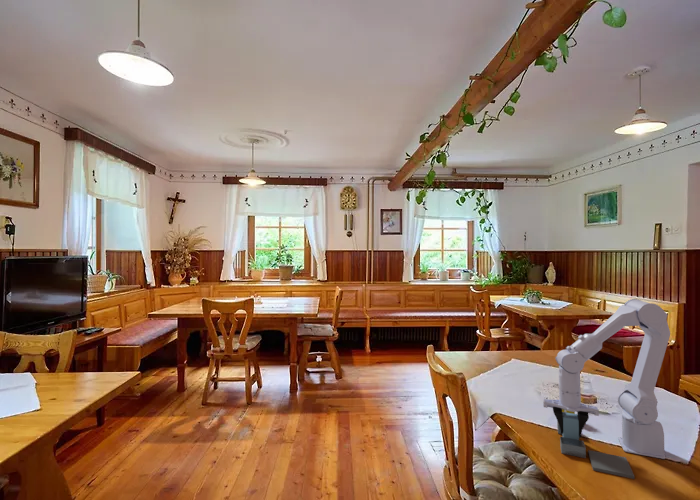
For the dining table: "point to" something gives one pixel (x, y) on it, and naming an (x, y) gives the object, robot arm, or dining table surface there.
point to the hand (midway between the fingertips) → (570, 433)
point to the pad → (610, 464)
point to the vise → (572, 446)
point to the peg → (570, 426)
